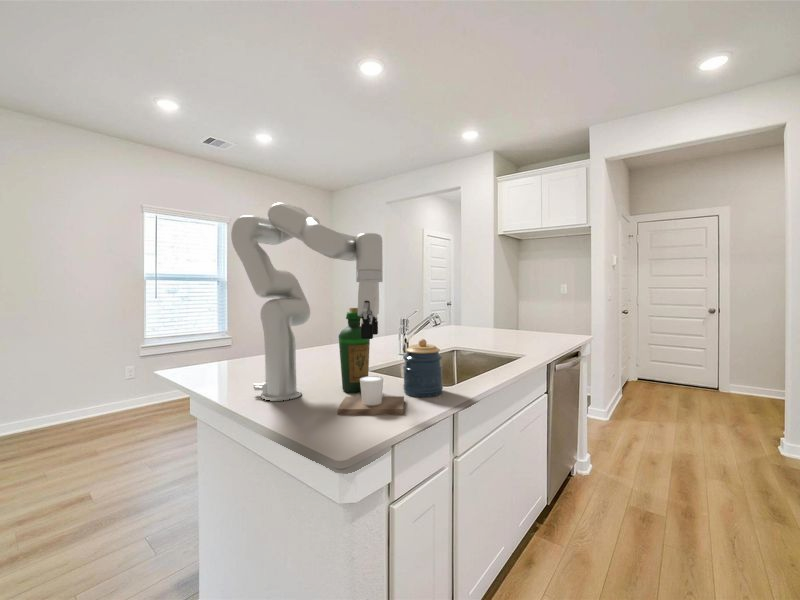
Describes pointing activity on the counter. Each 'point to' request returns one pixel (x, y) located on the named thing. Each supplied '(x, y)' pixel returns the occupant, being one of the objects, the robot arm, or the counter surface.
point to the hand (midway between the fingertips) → (369, 336)
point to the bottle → (353, 353)
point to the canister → (422, 370)
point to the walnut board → (372, 406)
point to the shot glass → (371, 390)
